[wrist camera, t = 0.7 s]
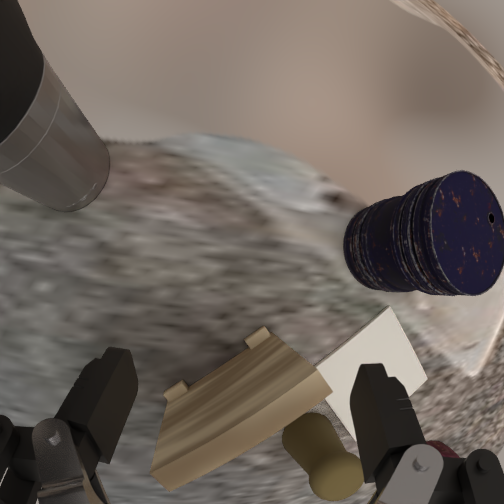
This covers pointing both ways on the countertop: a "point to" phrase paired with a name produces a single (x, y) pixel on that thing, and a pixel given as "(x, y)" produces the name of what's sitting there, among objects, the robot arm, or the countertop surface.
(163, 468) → the maple board
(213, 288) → the countertop surface
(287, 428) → the cork
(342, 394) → the coaster
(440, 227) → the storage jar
